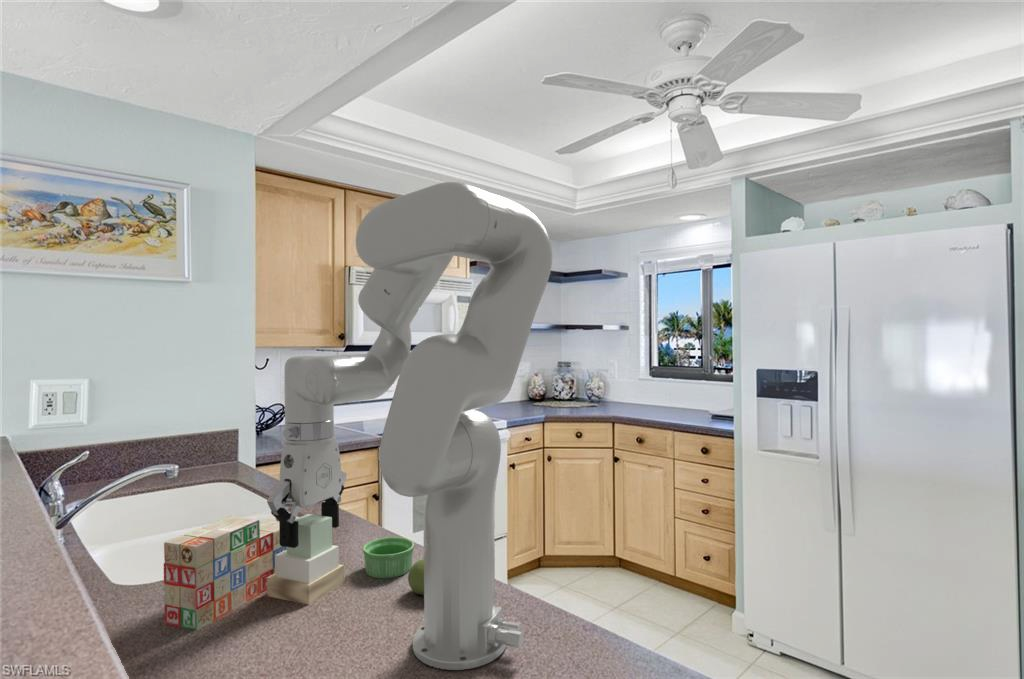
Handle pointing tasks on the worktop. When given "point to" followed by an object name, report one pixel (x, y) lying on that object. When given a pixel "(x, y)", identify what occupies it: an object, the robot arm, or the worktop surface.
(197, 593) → the stack of blocks
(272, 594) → the tower base
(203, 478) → the worktop surface
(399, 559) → the ramekin
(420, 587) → the pear
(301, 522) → the sage cube
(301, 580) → the tower top
